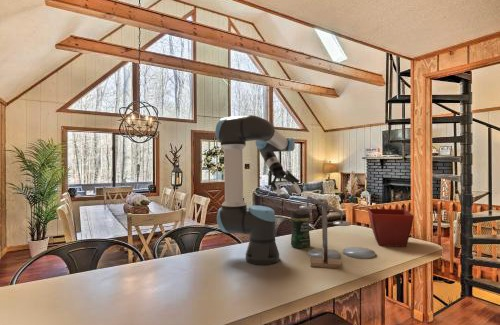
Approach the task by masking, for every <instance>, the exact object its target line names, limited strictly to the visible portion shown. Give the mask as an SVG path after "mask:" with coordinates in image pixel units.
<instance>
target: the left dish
mask: <svg viewBox="0 0 500 325" xmlns="http://www.w3.org/2000/svg"><path fill="white" fill-rule="evenodd" d="M340 254H341V253H340V252H339V251H337V250H335V249H333V248H328V258H331V259H340V258H341V257H340V256H341V255H340ZM308 256H309V257H310V256H311V257H313V258H323V247H322V248H321V247H319V248H312V249H309V250H308ZM311 257H310V258H311Z"/></svg>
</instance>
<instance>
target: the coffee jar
mask: <svg viewBox="0 0 500 325" xmlns="http://www.w3.org/2000/svg"><path fill="white" fill-rule="evenodd" d="M290 219H291V220H290V221H291V237H290V245H291V247H293V248H297V249H304V248H309V247H311V238H310V220H311V213H310V211H308V210H307V209H300V210H292V211H291V214H290Z"/></svg>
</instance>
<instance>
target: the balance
mask: <svg viewBox="0 0 500 325" xmlns="http://www.w3.org/2000/svg"><path fill="white" fill-rule="evenodd" d="M309 200H310V201H312V202H315V203H317V204H318V205H321V223H322V225H321V228H322V229H321V230H322V233H321V234H322V248H323V258H313V257H310V267H312V268H324V269H325V268H328V269H342V263H341V258H338V259H331V258H328V249H329V248H328V246H329V244H328V209H329V210H332V211H334V212H335V213H338V214H340V220H335V221H332V224H333V225H334V226H337V227H349V226H351V225H352V224H351V222H350V221H346V220H343V211H342V210H340V209H337V208H336V207H333V206H332V205H329V204H328V202H327V201H321V200H318V199H317V198H314V197H312V196H310V195H308V196H306V205H305V204H304V205H299V209H300V210H317V206H316V205H311V204H309Z"/></svg>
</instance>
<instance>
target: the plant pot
mask: <svg viewBox="0 0 500 325" xmlns="http://www.w3.org/2000/svg"><path fill="white" fill-rule="evenodd" d="M367 211H368V212H367V213H368V217H369V222H370V226H371V230H372V234H373V235H374V239H375V241H376V243H377V245H378V246H383V247H384V246H385V247H387V246H388V247H407V244H408V241H409V238H410V235H411V231H412V228H413V221H414V214H413V213H411V212H410V211H407V210H406V209H403V208H401V209H400V208H399V209H398V208H368V209H367Z"/></svg>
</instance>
